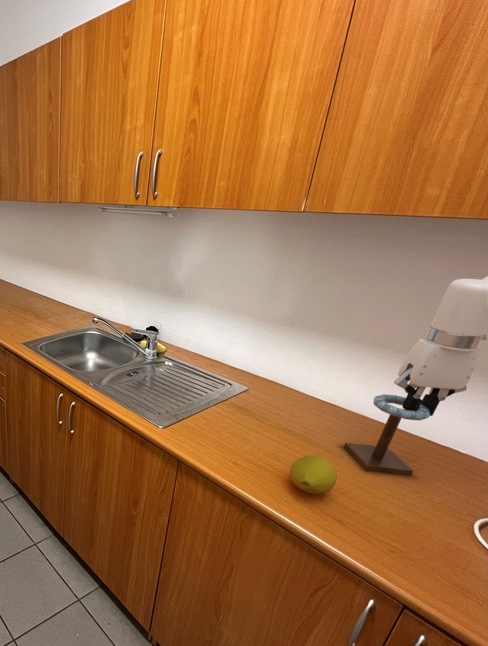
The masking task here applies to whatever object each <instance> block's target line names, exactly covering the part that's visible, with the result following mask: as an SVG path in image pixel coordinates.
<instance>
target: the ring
mask: <svg viewBox="0 0 488 646" xmlns="http://www.w3.org/2000/svg"><path fill="white" fill-rule="evenodd" d="M405 399H406V396H405V397H404V396H401V395H397V394H396V395H395V394H385V393H383V394H380V395H376V396H374V397H373V405H374V406H375V407H376V408H377V409H379V411H381V412H383V413H385V414H387V415H392V416H396V417H399V418H401V419H402V420H403V419H404V420H407V421H423V420H427V419H429V418H430V417H431V416H430V412H429V409H428V408H427V407H425V406H424V405H422V404H421V405H420V407H419V409H418V410H417V411H408V410H405V409H403V408H400V407H397V406H402V407H403V403H404V401H405ZM392 404H394V405H397V406H394V405H392Z"/></svg>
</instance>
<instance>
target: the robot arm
mask: <svg viewBox="0 0 488 646" xmlns="http://www.w3.org/2000/svg"><path fill="white" fill-rule="evenodd" d="M487 329H488V275H487V276H485V277H483V278H482V279H478V278H458V279H455V280H452V281H451V282H450V283H449V284H448V286H447V288H446V290H445V292H444V295H443V297H442V299H441V302H440V303H439V305H438V308H437V310H436V312H435V314H434V317H433V319H432V321H431V323H430V326H429V328H428V330H427V332H426V335H425V337H424V338H419V339H418V340H417V342H415V344H414V345H413V346H412V347H411V349H410V350H409V352H408V354H407V355H406V357H405V359H404V360H403V362H402V364H401V366H400V368H399V369H398V372H397V376H398V377H397V378H396V379H395V380H394V382H393V383H394V384H395V385H396V386H398V387H400V388H402V389H403V390H404V391H405V393H406V396H405V398H406V399H405V401H404V403H403V406H402V409H404V410H408V411H417V410H418V409H419V407H420V405H421V404H422V405H424V406H425V407H427V408H428V409H429V412H430V417H433V416H434V414H435V412H436V410H437V409H438V406H439V404H440V402H443V401H445V400H446V399H447V398H448V397H450V396H452V395H454V394H458V393H462V392H466V391H467V384H468V383H469V381H470V380H471V377H472V376H473V373H474V371H475V368H476V365H477V362H478V358H479V353H480V348H479V345H480V343H481V342H484V341H486V340H487V338H488V337H487V335H486V334H485V333H486V331H487ZM426 388H430V390H429V393H425V394H424V392H425V391H426ZM423 394H424V395H423ZM422 395H423V398H422Z"/></svg>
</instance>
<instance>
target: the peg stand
mask: <svg viewBox="0 0 488 646" xmlns="http://www.w3.org/2000/svg"><path fill="white" fill-rule="evenodd" d="M401 421H402V418H399V417H396V416H392V415H390V414H388V418H387V420H386V422H385V424H384V427H383V429H382V431H381V432H380V433H381V434H380V435H379V438H378V440H377V442H376V444H375V445H370V444H360V443H354V442H353V443H351V442H345V443H344V445H343V449H344V450H345V451H346V452H347V453H348V454H349V455H350V456H351V457H352V458H353V460H355V461H356V462H357V463H358V465H360V466H361V467H362V468H363V470H364V471H366V472H374V473H381V474H389V475H390V474H391V475H399V476H400V475H401V476H409V477H411V476H412V475H413V472H414V470H413V469H412V468H411V467H410V466H408V465H407V464H406V463H405V462H404V461H403V460H402V459H400V457H399V456H397V455H396V453H394V452H393V451H391V449H390V448H389V447H390V444H391V442H392V440H393V438H394V436H395V433H396V431H397V429H398V428H399V425H400V423H401Z"/></svg>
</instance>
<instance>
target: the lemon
mask: <svg viewBox="0 0 488 646" xmlns="http://www.w3.org/2000/svg"><path fill="white" fill-rule="evenodd" d="M289 471H290V472H289V474H290V479H291V481H292V482H293V484H294V485H295V486H296V487H297V488H298V489H300V490H301V491H303V492H305V493H306V494H312V495H323V494H326V493H329V492H331V490H332V489H333V488H334V487H335V485H336V482H337V479H338V473H337V470H336V469H335V466H333V464H332V463H331V462H330V461H328V459H326V458H324V457H322V456H319V455H312V454H310V455H309V454H307V455H304V456H301V457H299V458H297V459H296V460H295V461H293V462H292V464H291V466H290V470H289Z"/></svg>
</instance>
